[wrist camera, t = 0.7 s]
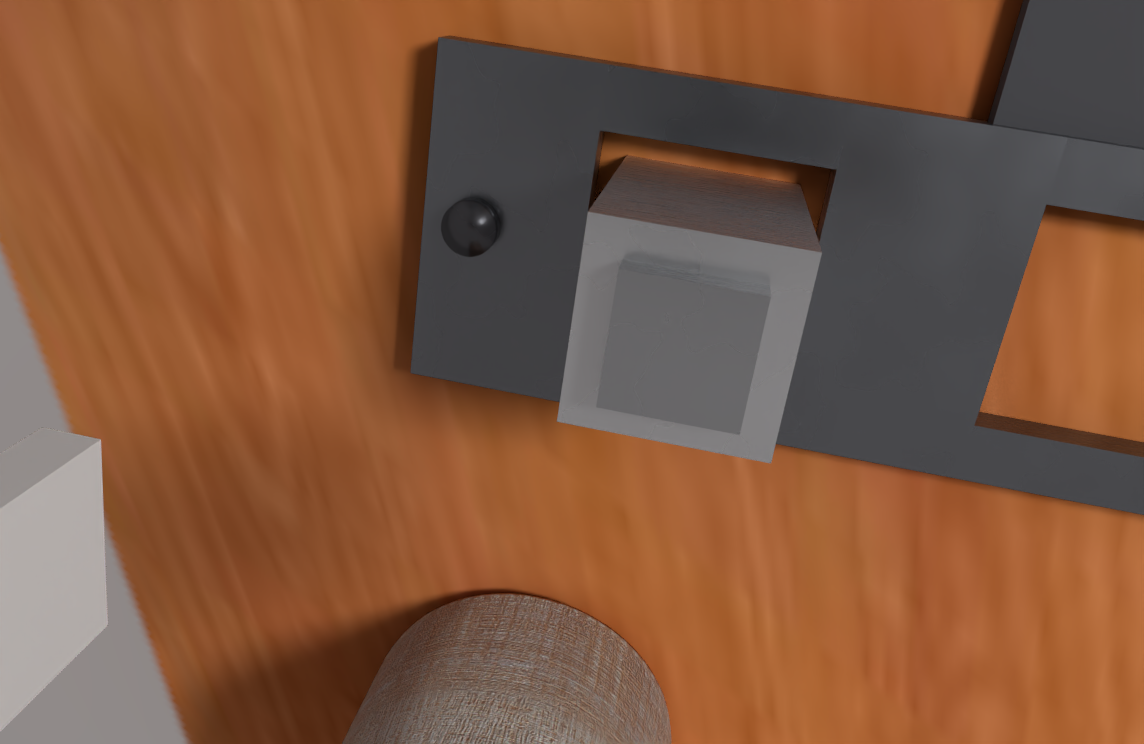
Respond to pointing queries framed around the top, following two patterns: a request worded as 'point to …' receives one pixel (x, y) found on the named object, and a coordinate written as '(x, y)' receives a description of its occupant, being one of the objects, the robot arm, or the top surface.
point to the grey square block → (690, 307)
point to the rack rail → (845, 234)
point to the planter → (511, 680)
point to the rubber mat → (1076, 70)
